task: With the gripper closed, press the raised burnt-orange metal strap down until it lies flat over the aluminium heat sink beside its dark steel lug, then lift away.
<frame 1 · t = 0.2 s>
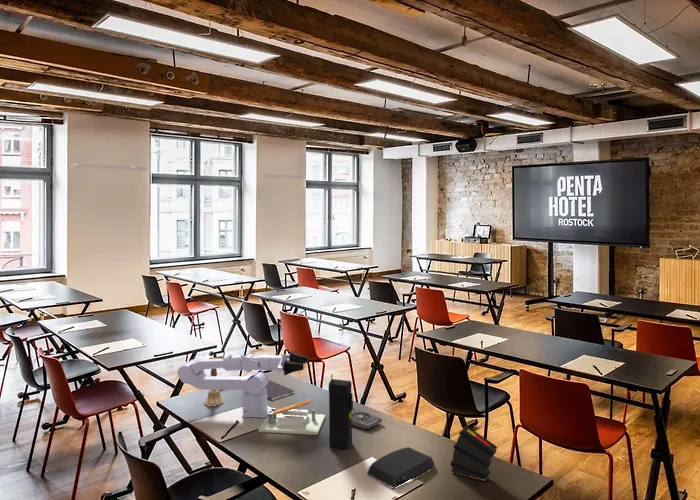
hand: (305, 363, 207), 21 cm above the table, tool horizontal, fingers open, 7 cm apart
magazine: (473, 477, 162), on the table
graphics card: (357, 424, 202), on the table
hand bell: (214, 403, 223), on the table
portable radio: (342, 445, 184), on the table
notebook: (269, 392, 237), on the table
heatsink board: (293, 424, 201), on the table
strap: (290, 407, 201), point 6 cm above the table, hinge at 20.0°
external hard drive: (401, 472, 166), on the table
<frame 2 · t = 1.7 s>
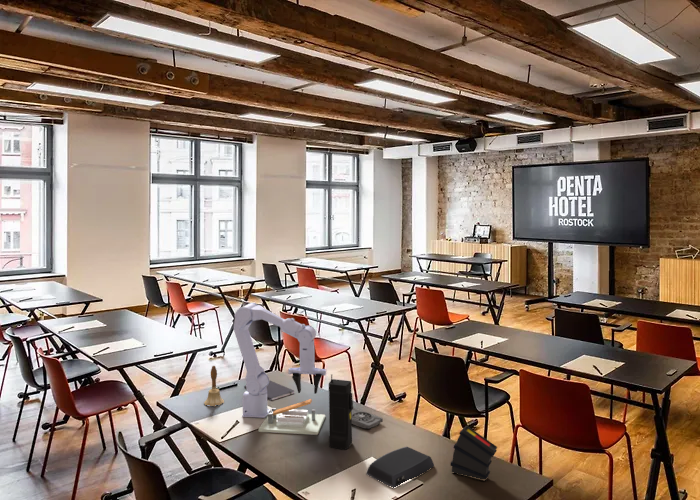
hand: (307, 392, 206), 10 cm above the table, tool pointing down, fingers open, 6 cm apart
nothing on the table moved.
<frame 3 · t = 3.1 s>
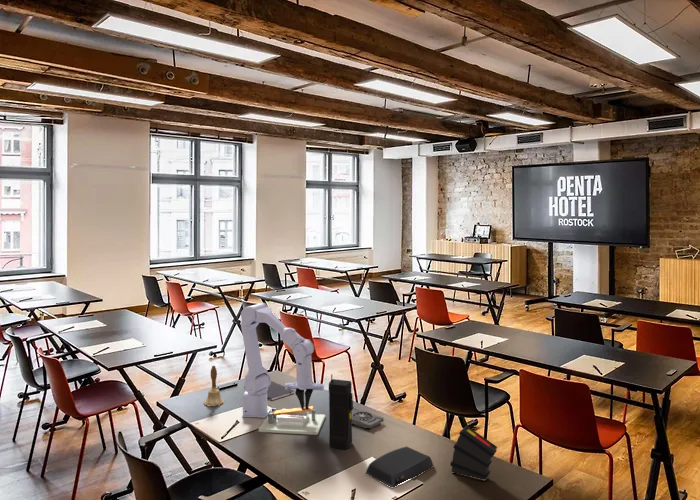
hand: (304, 408, 200), 7 cm above the table, tool pointing down, fingers closed
strap: (291, 411, 201), point 5 cm above the table, hinge at 9.7°, touching gripper
everything else where it was.
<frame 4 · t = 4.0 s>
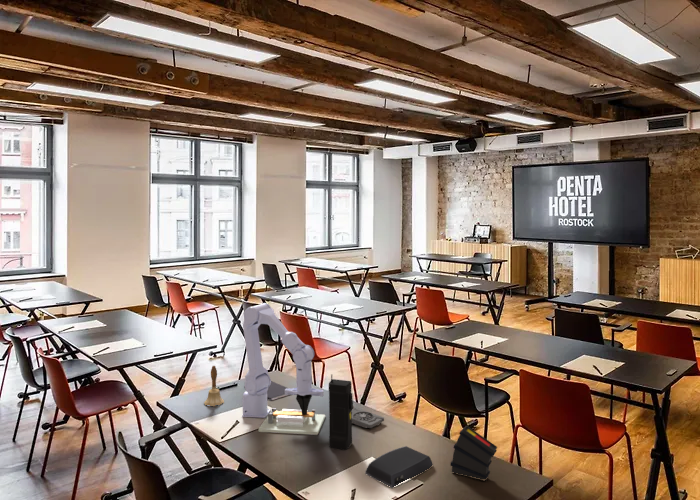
hand: (304, 413, 200), 4 cm above the table, tool pointing down, fingers closed, pressing on strap
strap: (291, 414, 201), point 4 cm above the table, hinge at 0.9°, touching gripper
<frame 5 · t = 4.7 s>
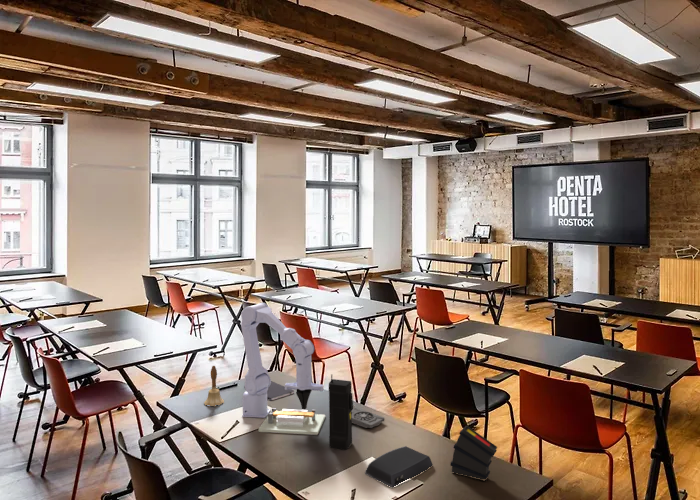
hand: (304, 408, 200), 6 cm above the table, tool pointing down, fingers closed
strap: (291, 414, 201), point 4 cm above the table, hinge at 0.9°
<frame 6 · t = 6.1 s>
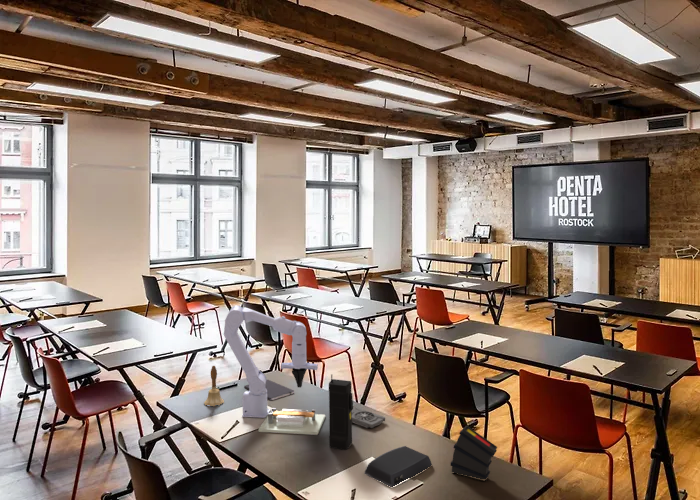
hand: (299, 386, 212), 10 cm above the table, tool pointing down, fingers closed
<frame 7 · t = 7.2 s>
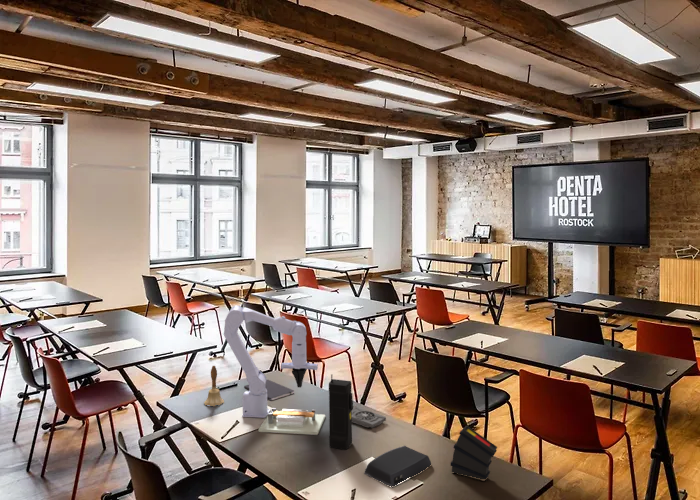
hand: (299, 386, 212), 10 cm above the table, tool pointing down, fingers closed
at the end: strap at +1° (first picture: +20°); graphics card moved 2.2 cm from its start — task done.
